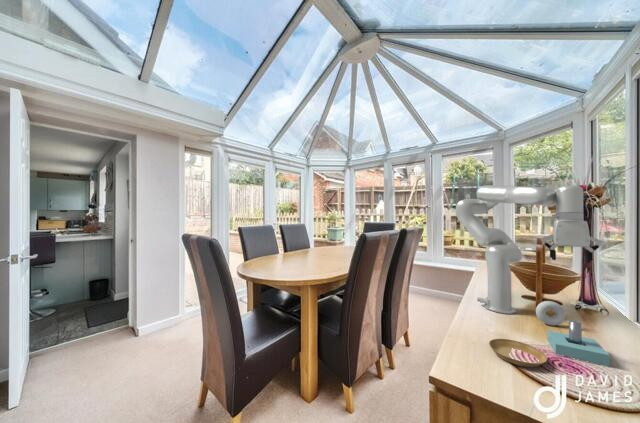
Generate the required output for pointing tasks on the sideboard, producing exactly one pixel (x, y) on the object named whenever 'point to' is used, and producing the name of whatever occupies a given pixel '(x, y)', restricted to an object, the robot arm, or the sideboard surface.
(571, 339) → the steel pin
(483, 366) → the sideboard surface
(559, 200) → the robot arm
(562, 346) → the slot block
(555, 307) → the donut
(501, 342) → the plant saucer
